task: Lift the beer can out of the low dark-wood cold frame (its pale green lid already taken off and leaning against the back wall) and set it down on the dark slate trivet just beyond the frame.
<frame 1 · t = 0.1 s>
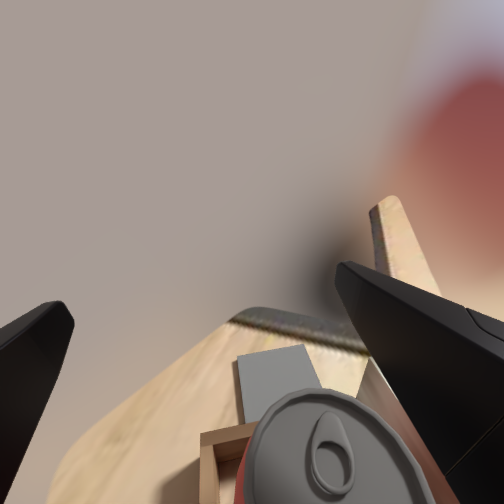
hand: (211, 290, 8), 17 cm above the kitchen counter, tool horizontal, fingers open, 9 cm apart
trivet: (279, 383, 22), on the kitchen counter
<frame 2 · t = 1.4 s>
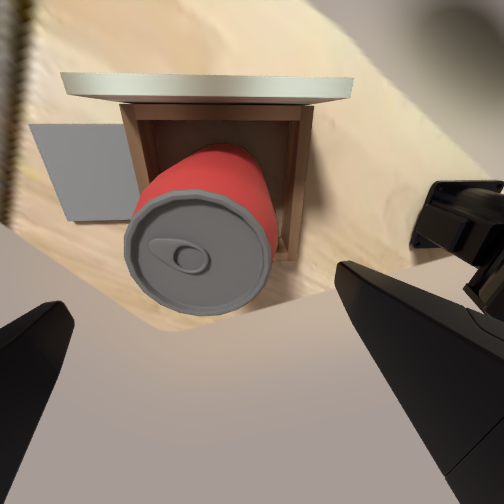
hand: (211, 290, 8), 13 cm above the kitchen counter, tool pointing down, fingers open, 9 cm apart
trivet: (98, 175, 18), on the kitchen counter
beer can: (225, 185, 20), resting in cold frame
cold frame: (225, 186, 20), on the kitchen counter
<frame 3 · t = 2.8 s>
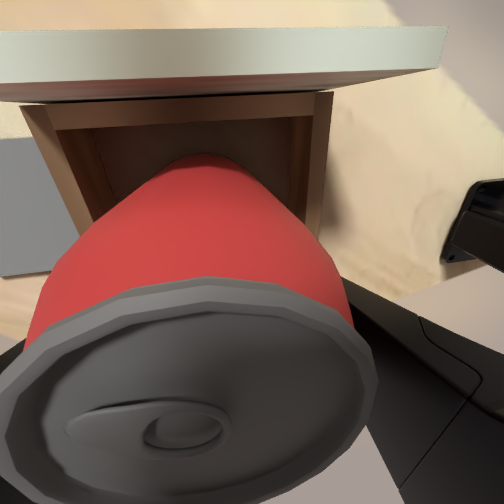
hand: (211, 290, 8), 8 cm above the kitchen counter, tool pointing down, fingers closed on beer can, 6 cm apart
trivet: (23, 211, 13), on the kitchen counter
beer can: (208, 210, 14), resting in cold frame, touching gripper
cold frame: (208, 210, 14), on the kitchen counter
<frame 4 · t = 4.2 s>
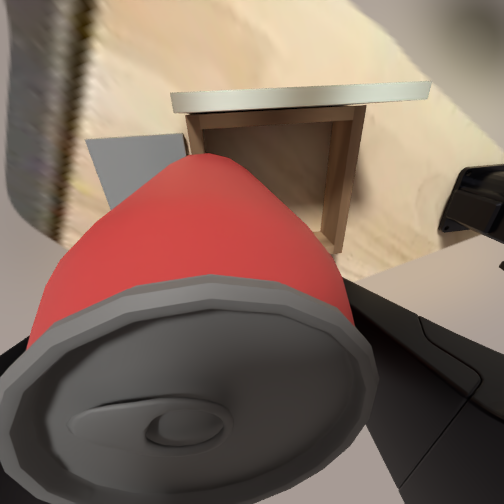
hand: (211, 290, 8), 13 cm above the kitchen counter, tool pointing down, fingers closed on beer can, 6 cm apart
trivet: (149, 185, 19), on the kitchen counter
beer can: (209, 210, 14), point 6 cm above the kitchen counter, touching gripper
cold frame: (270, 186, 20), on the kitchen counter
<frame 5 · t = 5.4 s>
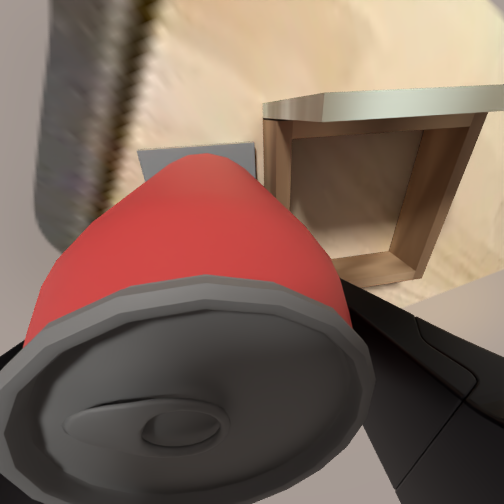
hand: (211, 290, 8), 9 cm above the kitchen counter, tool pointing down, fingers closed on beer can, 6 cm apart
trivet: (206, 203, 15), on the kitchen counter
beer can: (208, 210, 14), point 1 cm above the kitchen counter, touching gripper
cold frame: (342, 203, 17), on the kitchen counter
when the fingers open (9 cm above the kitchen counter, at t = 5.8 s): beer can drops 1 cm, resting on trivet.
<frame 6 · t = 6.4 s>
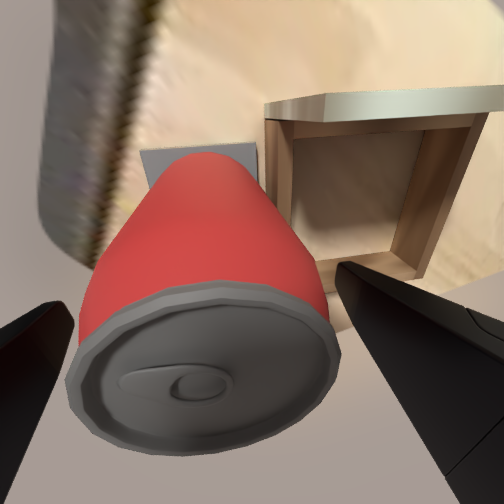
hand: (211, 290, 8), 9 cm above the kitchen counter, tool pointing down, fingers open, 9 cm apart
trivet: (207, 203, 16), on the kitchen counter
beer can: (209, 204, 15), resting on trivet
cold frame: (343, 203, 17), on the kitchen counter
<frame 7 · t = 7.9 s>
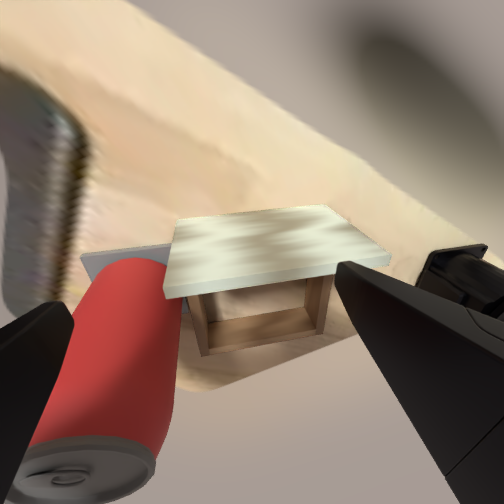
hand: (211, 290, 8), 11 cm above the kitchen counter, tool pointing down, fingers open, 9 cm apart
trivet: (141, 284, 20), on the kitchen counter
beer can: (142, 286, 19), resting on trivet
cold frame: (256, 277, 22), on the kitchen counter
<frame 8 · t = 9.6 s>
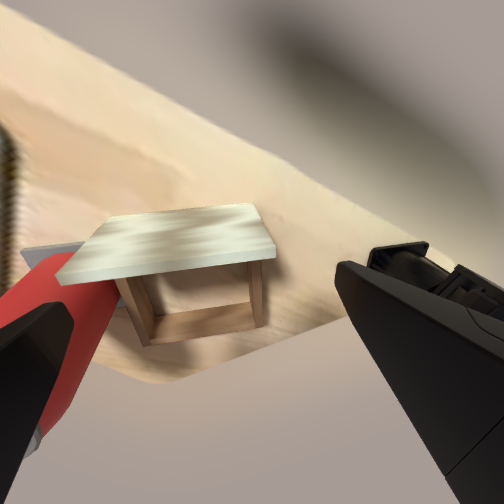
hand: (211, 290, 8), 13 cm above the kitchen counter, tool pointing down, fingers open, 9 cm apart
trivet: (84, 277, 21), on the kitchen counter
beer can: (84, 279, 21), resting on trivet
cold frame: (196, 272, 23), on the kitchen counter
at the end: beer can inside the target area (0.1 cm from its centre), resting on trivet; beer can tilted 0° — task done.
